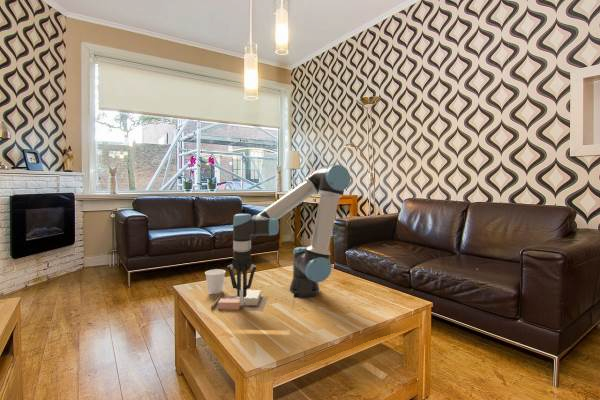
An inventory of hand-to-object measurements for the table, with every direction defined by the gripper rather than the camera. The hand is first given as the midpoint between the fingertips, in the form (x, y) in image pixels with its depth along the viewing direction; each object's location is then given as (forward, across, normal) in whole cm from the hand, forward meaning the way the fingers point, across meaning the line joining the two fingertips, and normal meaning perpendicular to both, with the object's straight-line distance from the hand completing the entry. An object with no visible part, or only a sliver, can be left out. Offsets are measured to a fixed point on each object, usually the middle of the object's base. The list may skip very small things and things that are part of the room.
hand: (241, 304), depth 137 cm
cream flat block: (+2, -2, -8) cm, 9 cm away
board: (+3, +1, -6) cm, 6 cm away
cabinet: (+2, +5, 0) cm, 5 cm away
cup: (+3, +17, -20) cm, 26 cm away
